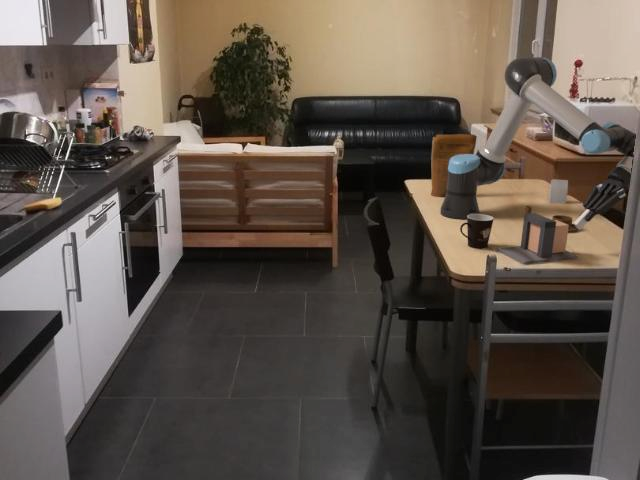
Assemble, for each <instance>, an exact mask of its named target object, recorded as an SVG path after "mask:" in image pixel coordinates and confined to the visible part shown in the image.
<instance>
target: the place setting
mask: <svg viewBox="0 0 640 480" xmlns="http://www.w3.org/2000/svg"><path fill="white" fill-rule="evenodd" d="M532 211H533V206H531V205H526V206H525V207H524V214H529V213H532ZM551 220H557V221H560V222H562V223H565V224H567V225H569V228H573V229H568V234H571V233H575V232H578V230H579V229H577V228H576V226H575V225H574V224H573V218H572V217H571V216H568V215H563V214H554V215H553V216H552V219H551Z"/></svg>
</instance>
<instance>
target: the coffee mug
mask: <svg viewBox="0 0 640 480" xmlns="http://www.w3.org/2000/svg"><path fill="white" fill-rule="evenodd" d="M494 220H495V219H494V217H493V216H491V215H488V214H482V213H479V214H470V215H468V216H467V219H466V222H464V223H462V224H461V225H460V227H459V232H460V234H462V236H463V237H464V238H467V246H468V247H469V248H472V249H477V250H483V249H482V248H484V249H487V248H488V245H489V241H490V236H491V232H492V227H493V223H494ZM465 225H467V228H466V229H467V235H466V234H465V233H464V232H463V227H464V226H465Z"/></svg>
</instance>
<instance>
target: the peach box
mask: <svg viewBox="0 0 640 480" xmlns="http://www.w3.org/2000/svg"><path fill="white" fill-rule="evenodd" d="M554 221H556V228H555V235H554V242H553V250H552V253H558V252H565V250H566V248H567V240H568V234H569V233H568V230H569V228H570V227H569V225H567V224H565V223H562V222H560V221H557V220H554ZM540 229H541V227H540V226H538V225H535V224H533V223H531V224H530V233H529V241H528V249H529V250H531V251H533V252H535V253H537V252H538V244H539V236H540Z"/></svg>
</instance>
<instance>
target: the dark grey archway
mask: <svg viewBox="0 0 640 480" xmlns="http://www.w3.org/2000/svg"><path fill="white" fill-rule="evenodd" d="M523 215H524V217H523V225H522V232H521V239H520V240H521V243H520V246H521V248H522V249H524V250H525V249H528V241H529V233H530V224H531V223H533V224H535V225H538V226H540V227H541V229H540V236H539V244H538V252H537V256H538V257H540V258H544V257H552V250H553V242H554V235H555V228H556V221H554V220H552V219H551V218H549V217H547V216H543V215H542V214H541V215H540V214H539V213H536V212H533V213H532V212H531V213H529V214H526V213H524V214H523Z"/></svg>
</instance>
